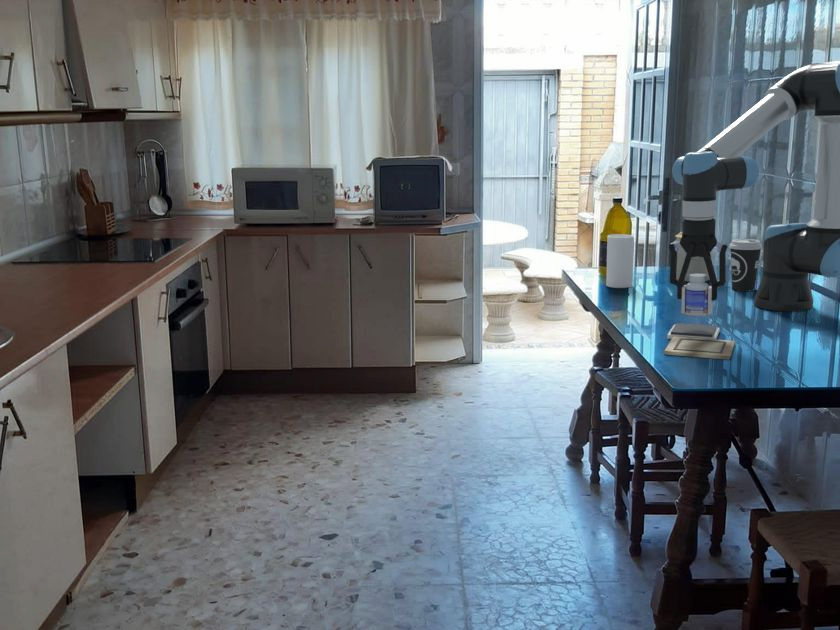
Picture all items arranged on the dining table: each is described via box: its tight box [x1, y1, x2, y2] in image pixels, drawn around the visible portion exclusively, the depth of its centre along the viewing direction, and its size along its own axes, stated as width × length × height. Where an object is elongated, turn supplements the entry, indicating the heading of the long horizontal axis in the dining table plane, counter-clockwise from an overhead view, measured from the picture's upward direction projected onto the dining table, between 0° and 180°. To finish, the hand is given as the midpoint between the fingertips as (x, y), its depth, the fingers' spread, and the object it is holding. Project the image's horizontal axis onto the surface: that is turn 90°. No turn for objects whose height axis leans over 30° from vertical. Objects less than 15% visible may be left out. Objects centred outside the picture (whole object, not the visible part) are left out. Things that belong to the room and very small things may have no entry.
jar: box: [672, 231, 714, 283], centre depth 281 cm, size 13×13×18 cm
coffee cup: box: [728, 238, 763, 292], centre depth 262 cm, size 10×10×15 cm
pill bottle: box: [685, 274, 710, 317], centre depth 208 cm, size 5×5×10 cm
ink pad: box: [666, 322, 721, 340], centre depth 210 cm, size 11×11×2 cm
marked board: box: [663, 337, 736, 360], centre depth 198 cm, size 14×14×1 cm
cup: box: [605, 233, 635, 289], centre depth 273 cm, size 8×8×16 cm
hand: (696, 312), depth 209 cm, fingers closed on pill bottle, 5 cm apart
